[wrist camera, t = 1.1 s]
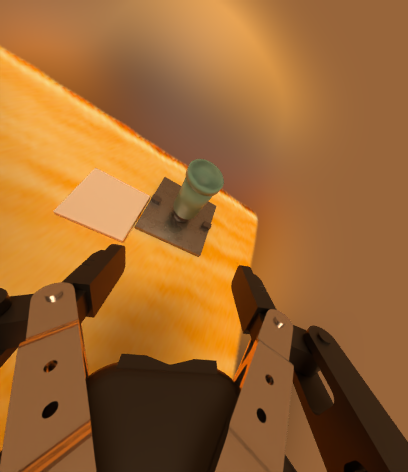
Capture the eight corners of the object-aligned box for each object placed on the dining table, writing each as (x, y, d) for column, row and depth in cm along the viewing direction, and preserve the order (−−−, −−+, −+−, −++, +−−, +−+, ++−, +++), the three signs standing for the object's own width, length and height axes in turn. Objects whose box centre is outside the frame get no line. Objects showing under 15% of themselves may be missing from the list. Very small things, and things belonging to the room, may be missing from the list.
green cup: (167, 212, 29) (182, 177, 21) (178, 190, 32) (195, 152, 24) (194, 225, 31) (218, 198, 22) (202, 204, 33) (227, 172, 25)
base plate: (134, 228, 30) (135, 219, 26) (163, 179, 36) (167, 167, 33) (198, 256, 33) (206, 252, 30) (214, 208, 40) (222, 199, 36)
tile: (55, 214, 25) (53, 211, 24) (96, 171, 30) (95, 167, 30) (122, 242, 28) (122, 240, 27) (149, 198, 33) (150, 196, 32)
